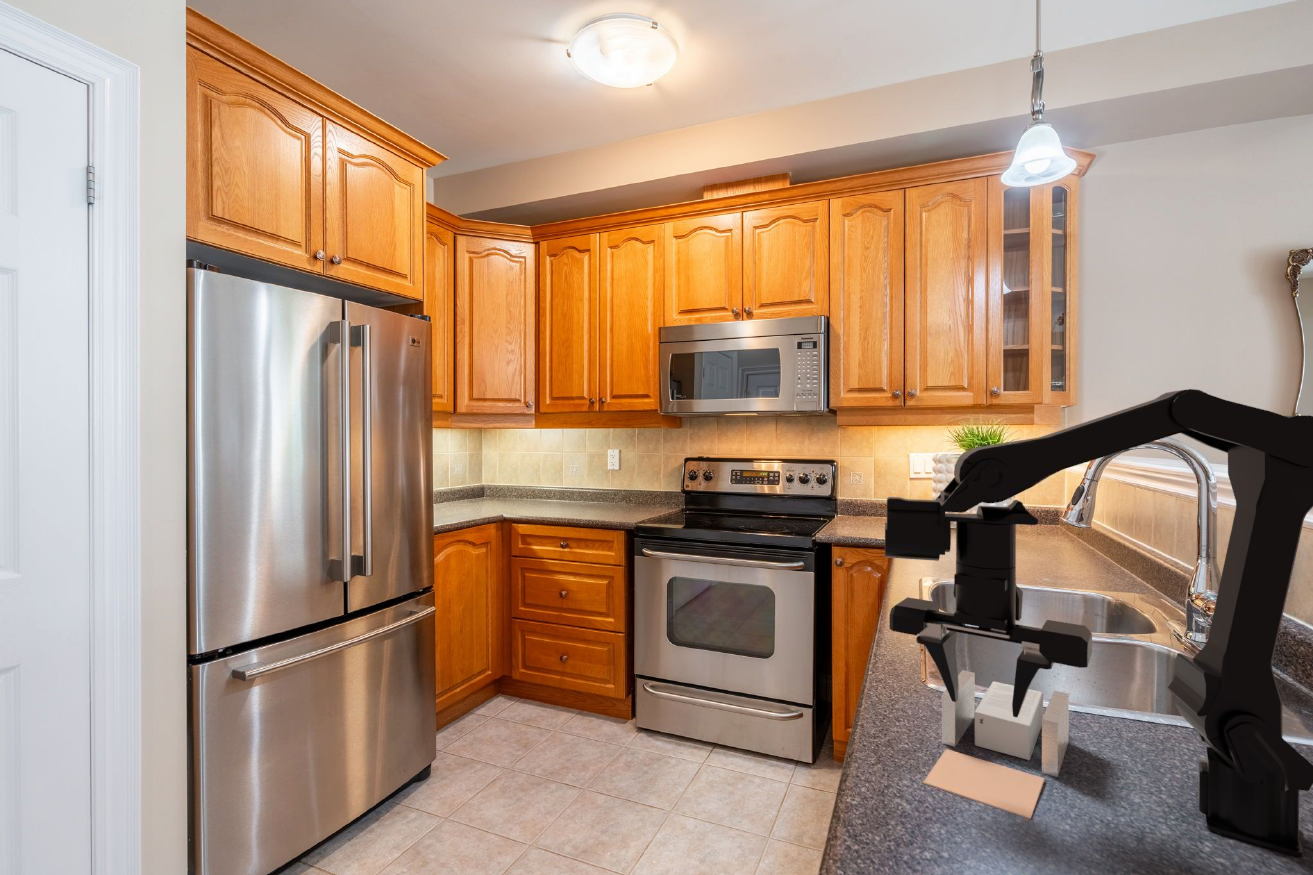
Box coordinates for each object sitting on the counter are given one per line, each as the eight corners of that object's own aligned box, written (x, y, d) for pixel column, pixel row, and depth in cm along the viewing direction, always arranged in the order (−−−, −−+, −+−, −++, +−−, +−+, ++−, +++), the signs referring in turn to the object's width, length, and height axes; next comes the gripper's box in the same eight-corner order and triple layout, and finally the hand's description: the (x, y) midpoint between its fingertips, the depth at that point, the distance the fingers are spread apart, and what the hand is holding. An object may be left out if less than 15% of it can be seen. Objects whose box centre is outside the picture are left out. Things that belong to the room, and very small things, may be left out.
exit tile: (1044, 781, 68) (1044, 778, 68) (1030, 821, 61) (1030, 817, 61) (946, 752, 74) (946, 748, 74) (923, 785, 67) (923, 781, 67)
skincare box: (992, 711, 85) (972, 745, 76) (992, 680, 85) (972, 710, 76) (1044, 724, 82) (1030, 762, 72) (1045, 691, 82) (1030, 725, 72)
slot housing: (1068, 742, 77) (1068, 693, 77) (1057, 777, 69) (1057, 722, 69) (962, 714, 84) (962, 670, 84) (941, 743, 77) (941, 694, 77)
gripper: (1097, 562, 68) (1096, 706, 68) (917, 543, 80) (917, 666, 80) (1087, 582, 59) (1086, 746, 59) (887, 557, 71) (887, 694, 71)
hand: (984, 707), depth 68 cm, fingers open, 6 cm apart
